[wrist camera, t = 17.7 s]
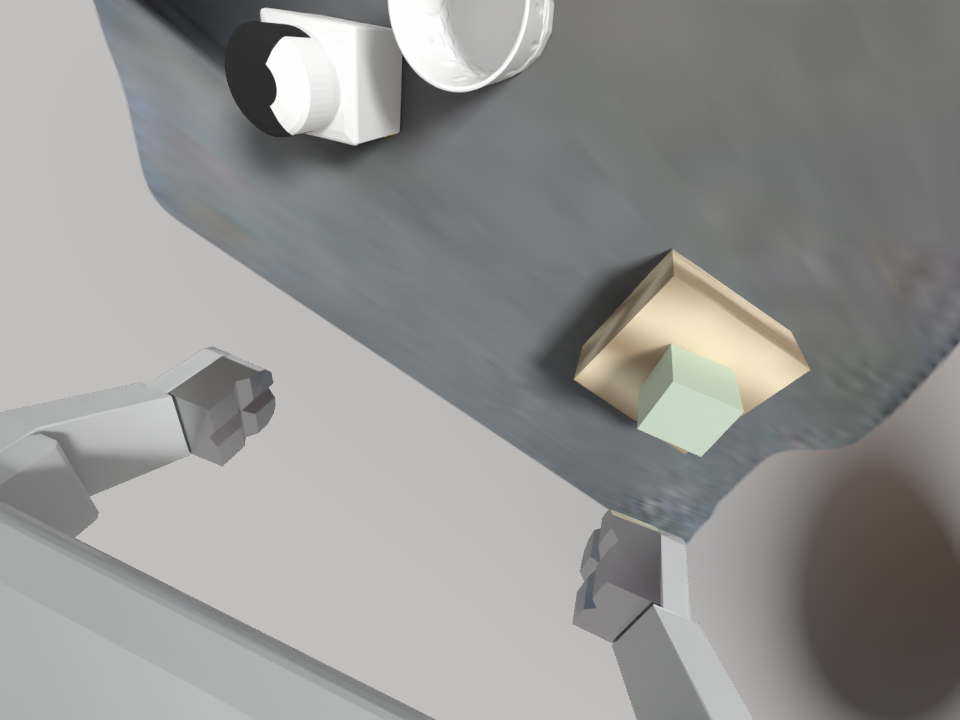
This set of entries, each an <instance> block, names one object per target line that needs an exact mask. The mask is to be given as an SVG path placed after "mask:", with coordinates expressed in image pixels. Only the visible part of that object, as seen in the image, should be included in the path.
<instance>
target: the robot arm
mask: <svg viewBox="0 0 960 720" xmlns="http://www.w3.org/2000/svg"><path fill="white" fill-rule="evenodd" d="M272 384H273V380H272V374H271V372H269V371H267V370H265V369H263V368H261V367H259V366H256V365H254V364H252V363H249V362H247V361H245V360H243V359H240V358H238V357H236V356H233V355H231V354H229V353H226V352H224V351H222V350H219V349H217V348H215V347H210V348H204V349H203V350H201V351H199V352H198V353H196V354H194V355H193V356H191V357H190V358H188V359H186V360H185V361H183V362H182V363H180V364H179V365H177V366H175V367H174V368H172V369H171V370H169V371H167V372H166V373H164V374H163V375H161V376H159V377H158V378H156V379H155V380H153V381H152V382H150V383H148V384H143V383H135V384H131V385H126V386H121V387H116V388H112V389H108V390H102V391H98V392H93V393H88V394H84V395H79V396H74V397H70V398H66V399H60V400H56V401H51V402H46V403H42V404H37V405H32V406H27V407H23V408H19V409H14V410H9V411H4V412H0V720H435V719H434V718H431V717H430V716H427V715H426V714H423V713H421V712H420V711H418V710H415V709H414V708H412V707H410V706H408V705H406V704H404V703H402V702H400V701H398V700H396V699H394V698H392V697H390V696H388V695H386V694H384V693H382V692H380V691H378V690H376V689H374V688H372V687H370V686H368V685H366V684H364V683H362V682H360V681H358V680H356V679H354V678H352V677H350V676H348V675H346V674H344V673H342V672H340V671H338V670H336V669H334V668H332V667H330V666H328V665H326V664H324V663H322V662H320V661H318V660H316V659H314V658H312V657H310V656H308V655H306V654H304V653H303V652H300V651H299V650H297V649H295V648H292V647H291V646H289V645H287V644H285V643H282V642H280V641H279V640H277V639H274V638H273V637H271V636H269V635H266V634H265V633H262V632H261V631H259V630H256V629H255V628H253V627H251V626H249V625H247V624H245V623H243V622H241V621H239V620H237V619H235V618H233V617H231V616H229V615H227V614H225V613H223V612H221V611H219V610H217V609H215V608H213V607H211V606H209V605H207V604H205V603H203V602H201V601H199V600H197V599H195V598H193V597H191V596H189V595H187V594H185V593H183V592H181V591H179V590H177V589H175V588H173V587H171V586H169V585H168V584H166V583H164V582H162V581H160V580H157V579H156V578H153V577H152V576H150V575H148V574H146V573H144V572H142V571H140V570H138V569H136V568H134V567H132V566H130V565H128V564H126V563H124V562H122V561H120V560H118V559H116V558H114V557H112V556H110V555H108V554H106V553H104V552H102V551H100V550H98V549H96V548H94V547H92V546H90V545H88V544H86V543H84V542H82V541H80V540H78V539H76V538H75V537H76V536H77V535H78V534H80V533H81V532H82V531H83V530H84V529H85V528H87V527H88V526H89V525H90V524H92V523H93V522H94V521H95V520H96V519H97V518H98V513H99V512H98V510H97V509H96V507H95V505H94V503H93V502H92V500H91V498H90V496H92V495H94V494H97V493H99V492H101V491H104V490H106V489H109V488H111V487H114V486H116V485H118V484H121V483H123V482H126V481H128V480H130V479H133V478H135V477H138V476H140V475H143V474H145V473H148V472H150V471H152V470H155V469H157V468H160V467H162V466H164V465H167V464H169V463H172V462H174V461H177V460H179V459H182V458H184V457H186V456H189V455H190V453H192V454H194V455H197V456H199V457H201V458H204V459H206V460H208V461H211V462H213V463H216V464H218V465H221V466H223V465H224V464H225V463H227V462H228V461H229V460H230V459H231V458H232V457H233V456H234V455H235V454H236V453H237V452H238V451H240V450H241V449H242V448H243V447H244V445H245V439H246V437H247V436H251V435H254V434H257V433H259V432H260V431H261V430H262V429H263V428H264V427H265V426H266V425H267V424H268V422H269V420H270V419H271V417H272V415H273V414H274V409H275V397H274V396H273V394H272V393H271V391H270V389H269V387H270V386H271V385H272ZM580 573H581V575H582V577H583V579H584V583H583V585H582V586H581V587H580V589H579V590H578V592H577V596H576V603H575V610H574V617H573V624H574V625H576V626H578V627H580V628H582V629H584V630H587V631H589V632H591V633H593V634H595V635H597V636H599V637H601V638H603V639H605V640H607V641H609V642H611V643H613V645H612V647H613V650H614V653H615V656H616V659H617V662H618V665H619V668H620V671H621V674H622V677H623V680H624V682H625V685H626V688H627V692H628V695H629V698H630V701H631V704H632V707H633V710H634V712H635V715H636V718H637V720H753V718H752V717H751V715H750V713H749V711H748V710H747V708H746V706H745V705H744V703H743V701H742V699H741V697H740V696H739V694H738V692H737V691H736V689H735V687H734V685H733V683H732V682H731V680H730V678H729V676H728V674H727V673H726V671H725V669H724V667H723V666H722V664H721V662H720V660H719V659H718V657H717V655H716V653H715V652H714V650H713V648H712V646H711V645H710V643H709V641H708V639H707V637H706V636H705V634H704V632H703V630H702V629H701V627H700V625H699V624H698V623H696V622H694V621H692V620H691V616H690V602H689V587H688V572H687V557H686V544H685V542H684V540H683V538H680V537H678V536H675V535H673V534H670V533H668V532H665V531H663V530H661V529H657V528H656V527H654V526H652V525H649V524H647V523H644V522H641V521H639V520H636V519H634V518H631V517H629V516H626V515H624V514H621V513H619V512H616V511H613V510H611V509H610V510H609V511H607V512H606V514H605V515H604V516H603V518H602V523H601V528H600V529H597V530H594V532H593V533H592V535H591V536H590V538H589V540H588V543H587V545H586V548H585V550H584V555H583V559H582V563H581V570H580Z"/></svg>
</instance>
